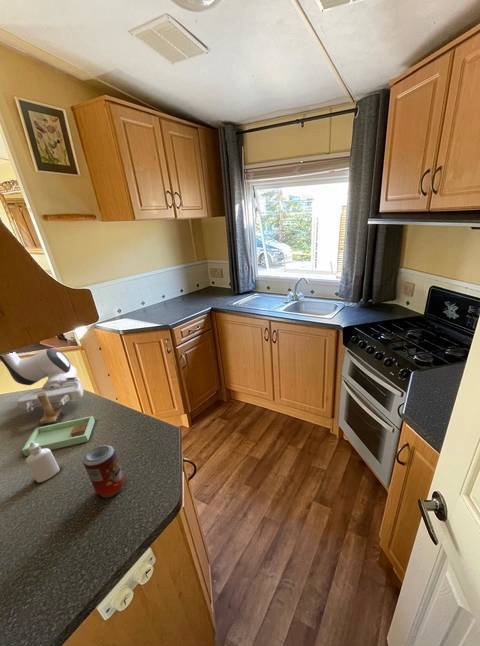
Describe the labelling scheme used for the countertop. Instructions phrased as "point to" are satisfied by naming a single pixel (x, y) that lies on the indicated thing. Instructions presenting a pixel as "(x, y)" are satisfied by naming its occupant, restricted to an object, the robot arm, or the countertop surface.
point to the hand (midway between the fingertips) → (45, 406)
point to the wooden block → (78, 430)
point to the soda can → (104, 470)
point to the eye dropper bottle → (41, 462)
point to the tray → (59, 434)
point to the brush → (49, 411)
